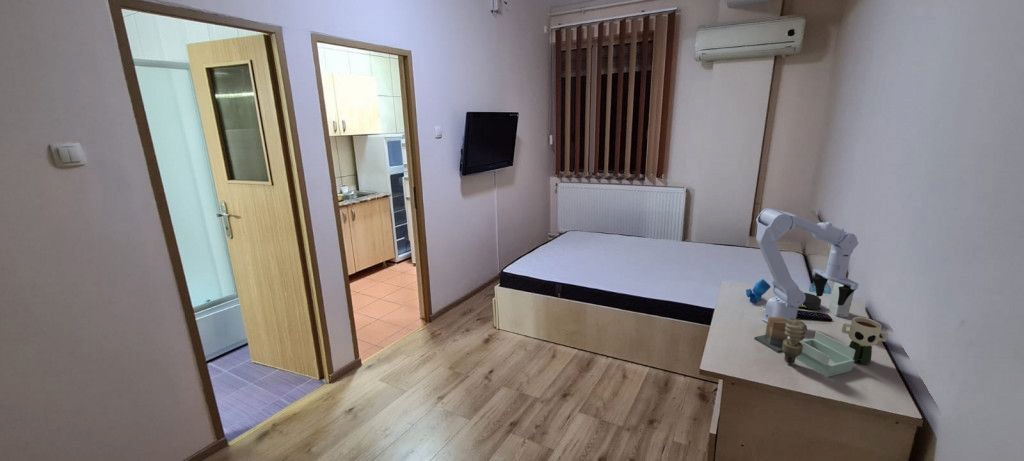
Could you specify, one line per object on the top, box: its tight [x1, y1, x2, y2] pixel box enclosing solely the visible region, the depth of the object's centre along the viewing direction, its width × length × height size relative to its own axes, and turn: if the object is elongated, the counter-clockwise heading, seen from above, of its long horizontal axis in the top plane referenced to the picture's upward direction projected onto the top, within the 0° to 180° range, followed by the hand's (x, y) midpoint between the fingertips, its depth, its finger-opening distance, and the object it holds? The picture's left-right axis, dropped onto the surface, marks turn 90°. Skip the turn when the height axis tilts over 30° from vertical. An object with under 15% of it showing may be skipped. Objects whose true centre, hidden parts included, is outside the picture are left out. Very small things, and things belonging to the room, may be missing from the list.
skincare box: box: [828, 282, 855, 318], centre depth 163 cm, size 6×4×12 cm
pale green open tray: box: [795, 330, 855, 378], centre depth 133 cm, size 13×11×6 cm
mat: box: [753, 334, 783, 353], centre depth 144 cm, size 9×9×1 cm
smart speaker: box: [803, 292, 822, 311], centre depth 171 cm, size 9×9×4 cm
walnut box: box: [764, 317, 789, 345], centre depth 143 cm, size 4×5×8 cm
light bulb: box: [782, 318, 808, 365], centre depth 131 cm, size 6×6×15 cm
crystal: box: [745, 278, 771, 304], centre depth 175 cm, size 7×9×12 cm
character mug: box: [841, 316, 889, 365], centre depth 133 cm, size 11×7×13 cm, turn 58°
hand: (829, 300), depth 153 cm, fingers open, 7 cm apart
